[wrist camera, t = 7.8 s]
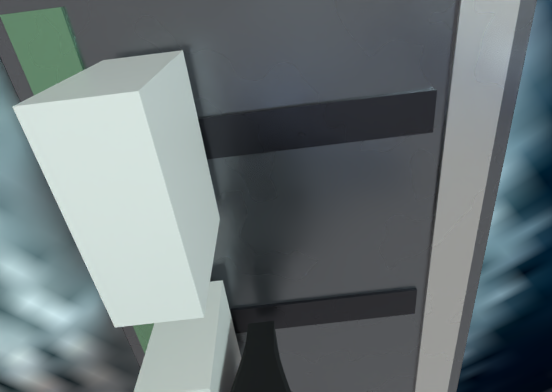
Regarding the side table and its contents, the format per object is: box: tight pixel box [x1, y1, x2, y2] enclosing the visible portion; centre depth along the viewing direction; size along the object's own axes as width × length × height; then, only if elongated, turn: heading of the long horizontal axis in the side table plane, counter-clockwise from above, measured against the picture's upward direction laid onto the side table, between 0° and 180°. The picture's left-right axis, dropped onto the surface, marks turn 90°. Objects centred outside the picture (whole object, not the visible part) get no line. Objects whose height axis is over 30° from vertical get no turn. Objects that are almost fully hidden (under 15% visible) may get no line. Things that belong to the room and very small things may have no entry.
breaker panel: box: [0, 0, 537, 392], centre depth 12 cm, size 11×19×2 cm, turn 6°
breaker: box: [12, 50, 220, 327], centre depth 7 cm, size 2×4×3 cm, turn 6°
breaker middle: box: [134, 280, 241, 392], centre depth 10 cm, size 2×4×3 cm, turn 6°
